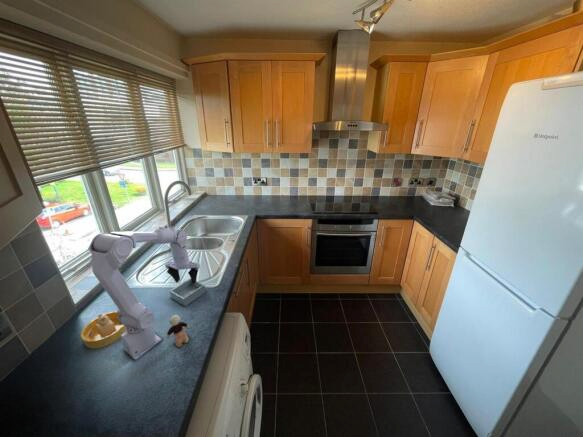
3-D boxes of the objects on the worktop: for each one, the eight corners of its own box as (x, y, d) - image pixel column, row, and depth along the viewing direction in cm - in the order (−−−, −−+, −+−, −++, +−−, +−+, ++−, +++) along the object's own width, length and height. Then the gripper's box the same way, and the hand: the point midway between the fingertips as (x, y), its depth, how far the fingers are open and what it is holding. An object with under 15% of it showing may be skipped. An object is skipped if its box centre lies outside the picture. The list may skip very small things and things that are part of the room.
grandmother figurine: (188, 333, 91) (181, 307, 86) (193, 338, 88) (187, 312, 84) (168, 347, 85) (160, 320, 80) (173, 353, 83) (165, 326, 78)
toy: (104, 338, 88) (98, 322, 85) (99, 332, 91) (92, 317, 88) (116, 330, 91) (110, 315, 88) (110, 325, 94) (104, 310, 91)
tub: (185, 306, 104) (183, 299, 102) (171, 297, 109) (169, 290, 107) (205, 291, 113) (204, 284, 111) (192, 284, 118) (190, 277, 116)
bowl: (94, 356, 82) (90, 348, 81) (78, 337, 89) (74, 330, 88) (137, 327, 93) (134, 320, 92) (119, 313, 100) (116, 306, 99)
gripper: (201, 251, 102) (205, 277, 107) (169, 249, 103) (175, 275, 108) (193, 260, 95) (198, 287, 101) (159, 258, 97) (166, 285, 102)
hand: (186, 281), depth 104 cm, fingers open, 7 cm apart
